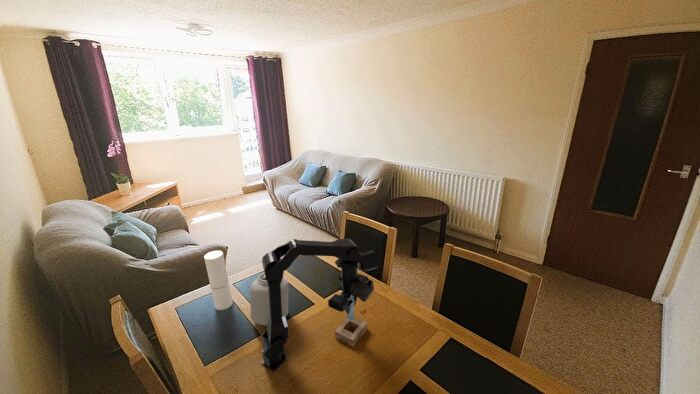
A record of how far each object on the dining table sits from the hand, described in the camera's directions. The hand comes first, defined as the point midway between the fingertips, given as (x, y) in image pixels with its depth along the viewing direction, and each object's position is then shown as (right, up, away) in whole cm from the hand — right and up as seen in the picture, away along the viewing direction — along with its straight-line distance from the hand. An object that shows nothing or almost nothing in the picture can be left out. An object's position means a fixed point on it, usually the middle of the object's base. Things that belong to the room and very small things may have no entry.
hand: (350, 310), depth 104 cm
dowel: (0, -3, +1) cm, 3 cm away
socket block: (0, -10, +3) cm, 11 cm away
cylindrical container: (-56, -6, +21) cm, 60 cm away
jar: (-32, -8, +14) cm, 36 cm away
